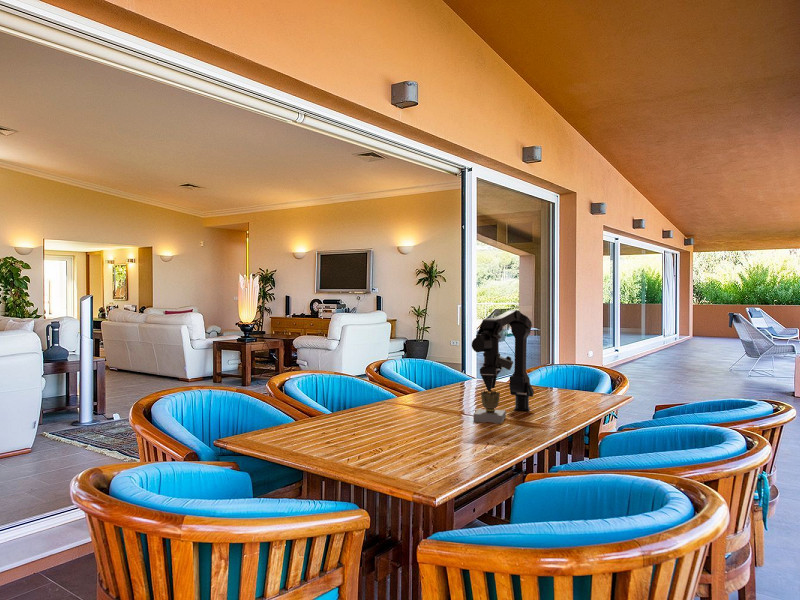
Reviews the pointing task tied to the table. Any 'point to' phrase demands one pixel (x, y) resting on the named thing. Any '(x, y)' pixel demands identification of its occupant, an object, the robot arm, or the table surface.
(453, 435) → the table surface
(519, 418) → the table surface
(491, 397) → the ornate bronze lamp shade
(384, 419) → the table surface
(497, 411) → the plinth
